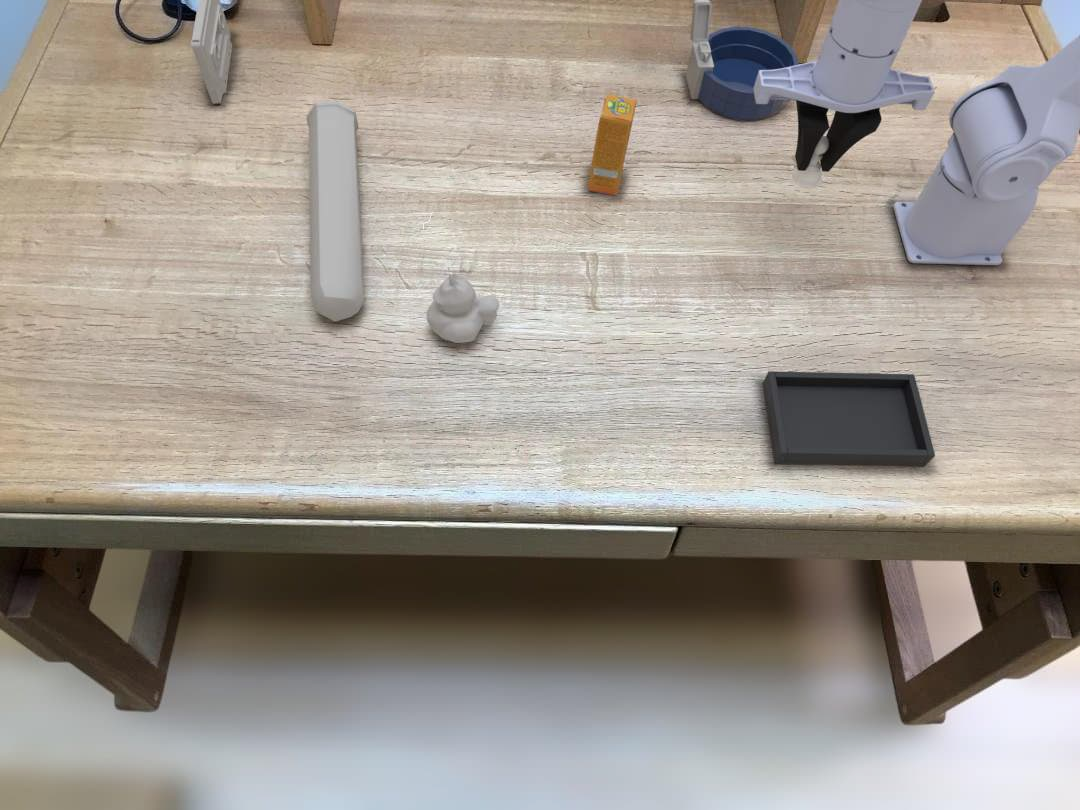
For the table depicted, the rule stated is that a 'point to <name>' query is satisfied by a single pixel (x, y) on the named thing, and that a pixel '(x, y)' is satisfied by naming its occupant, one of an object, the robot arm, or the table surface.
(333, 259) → the tube
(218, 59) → the cassette
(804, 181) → the chess pawn
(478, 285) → the table surface
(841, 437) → the tray
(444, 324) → the rubber duck
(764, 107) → the bowl
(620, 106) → the supplement box
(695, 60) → the lighter
